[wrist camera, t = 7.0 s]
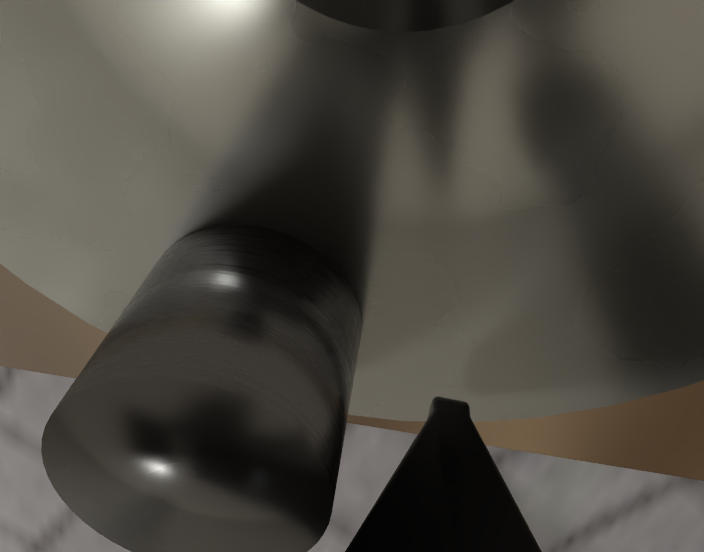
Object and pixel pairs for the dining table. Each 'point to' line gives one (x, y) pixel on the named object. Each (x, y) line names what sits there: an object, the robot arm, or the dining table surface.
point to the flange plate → (340, 236)
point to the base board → (518, 434)
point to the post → (404, 12)
